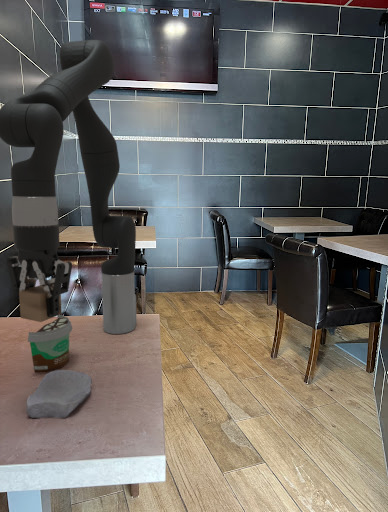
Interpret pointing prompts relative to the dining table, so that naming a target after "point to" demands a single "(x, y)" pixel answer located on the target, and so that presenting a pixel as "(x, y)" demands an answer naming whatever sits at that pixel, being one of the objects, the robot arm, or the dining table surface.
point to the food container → (51, 345)
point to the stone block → (59, 394)
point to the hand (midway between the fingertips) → (41, 313)
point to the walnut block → (35, 304)
